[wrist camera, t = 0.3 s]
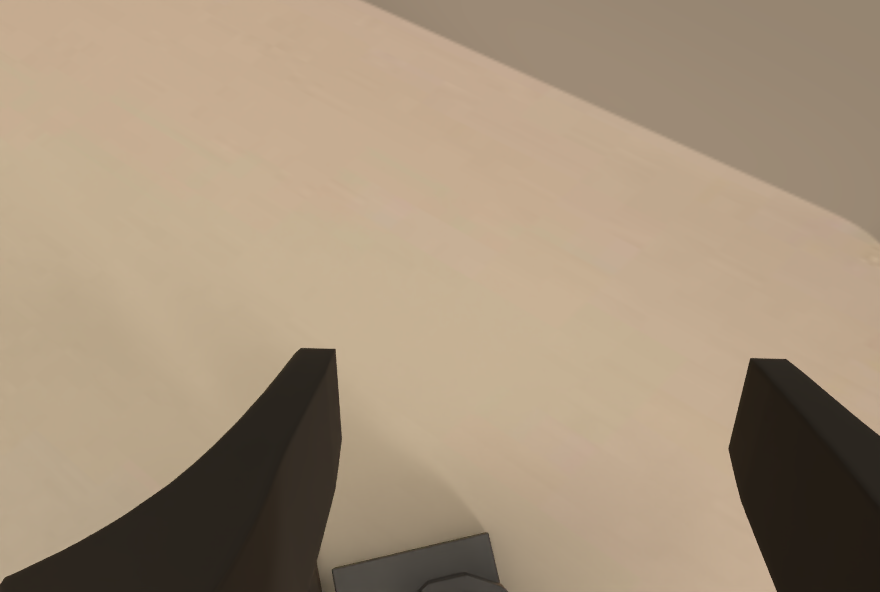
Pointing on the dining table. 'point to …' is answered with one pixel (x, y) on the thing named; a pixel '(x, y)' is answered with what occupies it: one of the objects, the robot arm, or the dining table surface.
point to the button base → (426, 569)
